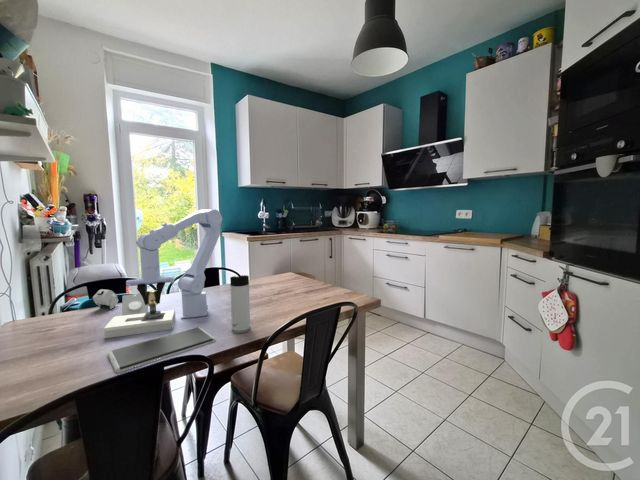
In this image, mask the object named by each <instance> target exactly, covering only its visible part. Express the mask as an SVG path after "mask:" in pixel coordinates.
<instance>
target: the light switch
mask: <svg viewBox="0 0 640 480" xmlns="http://www.w3.org/2000/svg"><path fill="white" fill-rule="evenodd" d="M121 300H122V305H121V307H122V308H121V309H122V310H121V316H124V315H133V314H142V313H147V312H149V306H148V305H145V303H144V300H143V297H142V296H141V294H140V292H138V293H133V294H126V295H125V294H124V295H122V299H121Z"/></svg>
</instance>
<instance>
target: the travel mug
mask: <svg viewBox="0 0 640 480" xmlns="http://www.w3.org/2000/svg"><path fill="white" fill-rule="evenodd" d="M249 278H250V277H249V275H240V276H235V275H233V276H230V280H229V281H230V311H231V314H230V316H231V332H232V333H234V334H244V333H247V332H249V331H250V330H251V319H250V318H251V316H250V315H251V313H250V312H251V311H250V310H251V309H250V304H251V303H250V281H249V280H250V279H249Z"/></svg>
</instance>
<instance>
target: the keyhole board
mask: <svg viewBox="0 0 640 480" xmlns="http://www.w3.org/2000/svg"><path fill="white" fill-rule="evenodd" d="M160 311H161V310H160ZM145 314H146V313H142V314H133V315H124V316H122V315H117V316H113V317H112V319H110V321H109V322H108V323H107V324H106V325H105V326H104V328H103V329H104V330H103V331H104V333H103V334H104V339H109V338H116V337H125V336H131V335H139V334H149V333H153V332H154V333H155V332H163V331H169V330H171V331H172V330H173V327H174V324H175V321H176V309H171V310H162V311H161V316H160V317H159V318H156V319H146V315H145Z"/></svg>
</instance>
